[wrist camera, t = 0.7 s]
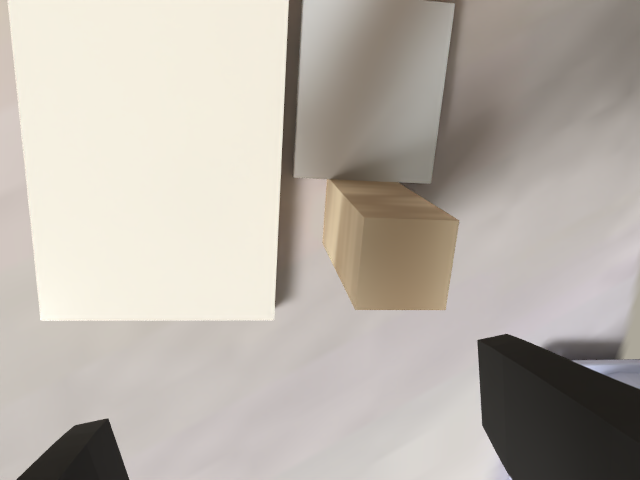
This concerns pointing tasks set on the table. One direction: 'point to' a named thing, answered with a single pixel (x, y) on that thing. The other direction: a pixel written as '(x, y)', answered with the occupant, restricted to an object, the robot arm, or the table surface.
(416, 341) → the table surface
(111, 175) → the trivet
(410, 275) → the grey plate tan block
